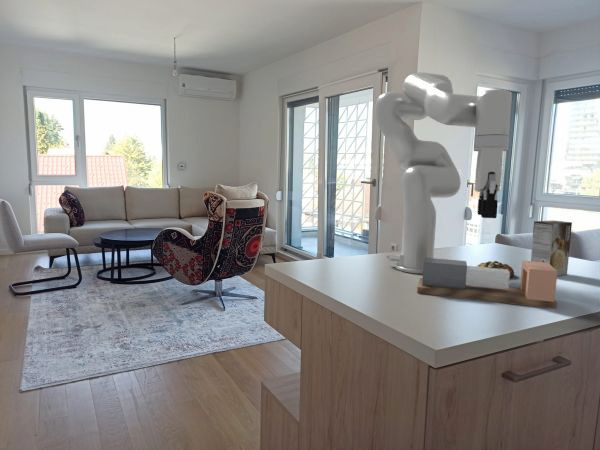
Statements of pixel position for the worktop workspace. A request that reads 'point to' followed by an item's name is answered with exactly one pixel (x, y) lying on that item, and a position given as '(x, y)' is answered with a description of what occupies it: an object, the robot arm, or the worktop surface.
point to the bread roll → (497, 266)
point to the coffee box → (552, 244)
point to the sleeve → (444, 273)
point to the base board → (486, 294)
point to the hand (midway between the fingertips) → (486, 216)
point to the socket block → (538, 280)
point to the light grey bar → (487, 277)
